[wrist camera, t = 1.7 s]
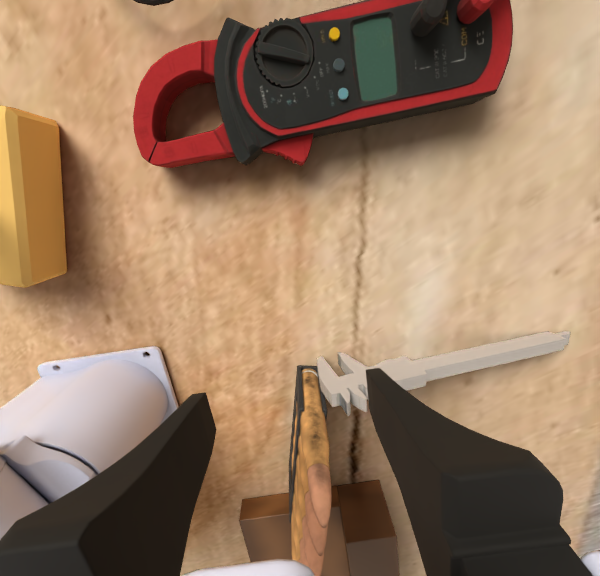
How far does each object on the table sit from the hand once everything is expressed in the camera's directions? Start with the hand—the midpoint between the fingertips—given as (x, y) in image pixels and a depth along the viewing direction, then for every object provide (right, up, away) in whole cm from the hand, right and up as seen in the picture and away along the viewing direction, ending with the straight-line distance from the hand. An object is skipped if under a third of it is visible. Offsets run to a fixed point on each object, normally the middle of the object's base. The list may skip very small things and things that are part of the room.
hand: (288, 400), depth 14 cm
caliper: (+12, 0, +12) cm, 17 cm away
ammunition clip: (+1, -6, +13) cm, 15 cm away
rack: (+3, -21, +17) cm, 27 cm away
